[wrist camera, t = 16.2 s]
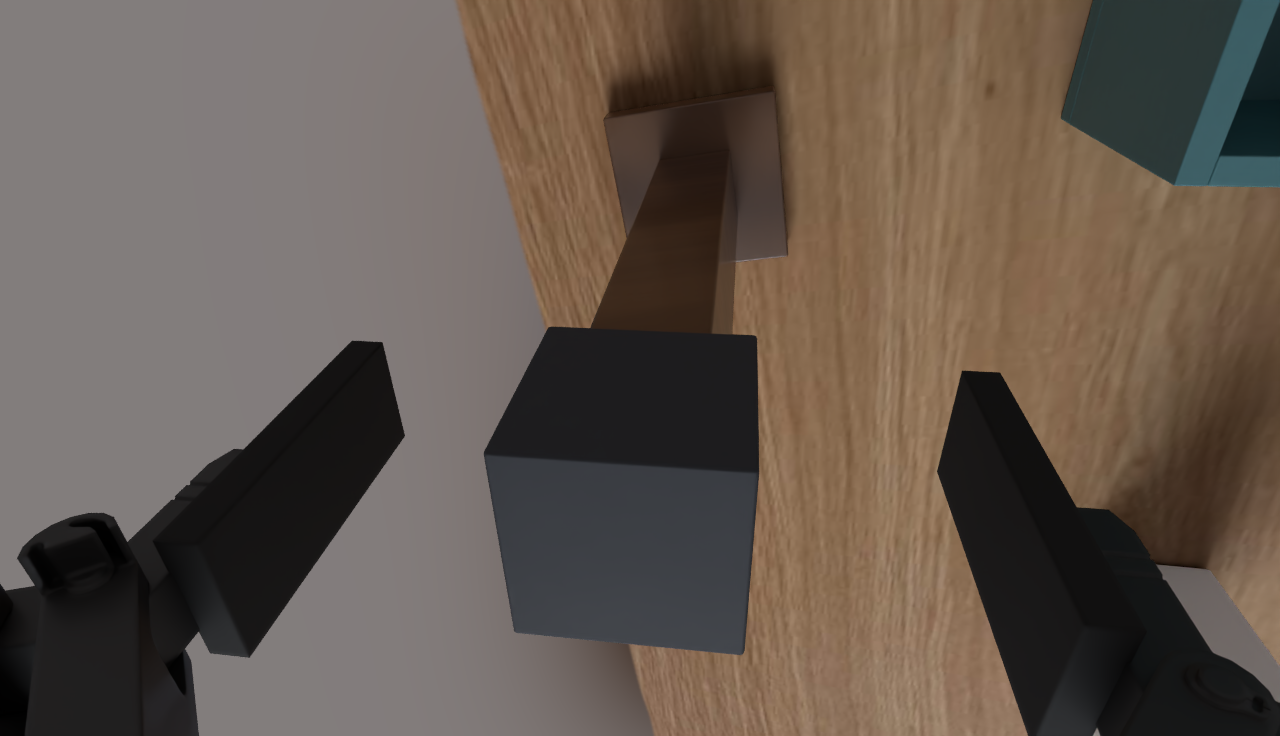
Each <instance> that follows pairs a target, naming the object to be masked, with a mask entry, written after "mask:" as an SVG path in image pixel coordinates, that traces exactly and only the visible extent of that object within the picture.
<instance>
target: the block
mask: <svg viewBox="0 0 1280 736" xmlns="http://www.w3.org/2000/svg"><path fill="white" fill-rule="evenodd" d="M484 457H485V464H486V470H487V476H488V482H489V487H490V492H491V499H492V505H493V511H494V516H495V522H496V528H497V534H498V539H499V545H500V551H501V557H502V563H503V569H504V574H505V580H506V586H507V592H508V597H509V603H510V609H511V615H512V621H513V627H514V631H515V632H516V633H524V634H534V635H544V636H554V637H564V638H575V639H584V640H595V641H605V642H615V643H625V644H635V645H645V646H655V647H665V648H675V649H685V650H695V651H705V652H715V653H726V654H736V655H742V654H743V653H744V649H745V637H746V625H747V613H748V601H749V589H750V577H751V565H752V552H753V540H754V528H755V516H756V504H757V492H758V480H759V430H758V366H757V338H756V336H754V335H733V334H710V333H687V332H663V331H640V330H617V329H594V328H571V327H549V328H548V329H547V331H546V333H545V335H544V337H543V339H542V341H541V343H540V345H539V347H538V349H537V351H536V353H535V355H534V356H533V359H532V360H531V362H530V364H529V366H528V368H527V370H526V372H525V374H524V376H523V378H522V380H521V382H520V384H519V385H518V387H517V389H516V391H515V393H514V395H513V397H512V399H511V401H510V403H509V405H508V407H507V409H506V411H505V413H504V415H503V416H502V418H501V420H500V422H499V424H498V426H497V428H496V430H495V432H494V434H493V436H492V438H491V440H490V441H489V444H488V446H487V448H486V449H485V451H484Z"/></svg>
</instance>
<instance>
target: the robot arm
mask: <svg viewBox="0 0 1280 736" xmlns="http://www.w3.org/2000/svg"><path fill="white" fill-rule="evenodd" d="M404 436H405V434H404V430H403V426H402V422H401V418H400V414H399V409H398V405H397V401H396V397H395V393H394V389H393V384H392V380H391V376H390V372H389V368H388V363H387V360H386V355H385V351H384V347H383V343H382V342H366V341H351V342H350V343H349V344H348V345H347V346H346V347H345V348H344V349H343V350H342V351H341V352H340V353H339V354H338V355H337V356H336V357H335V358H334V359H333V360H332V362H330V363H329V364H328V365H327V367H325V368H324V369H323V370H322V372H321V373H319V375H317V377H316V378H314V379H313V381H311V382H310V384H308V386H306V388H305V389H303V390H302V392H300V394H298V395H297V396H296V397H295V399H293V400H292V401H291V403H289V404H288V406H287V407H285V408H284V410H282V411H281V412H280V413H279V414H278V416H277V417H276V418H274V420H272V422H270V424H269V425H267V426H266V428H265V429H264V430H263V431H262V432H261V433H260V434H259V435H258V436H257V437H256V438H255V439H254V440H253V441H252V442H251V443H250V444H249V445H248V446H247V447H246V448H245V449H244V450H242V449H233V450H231V451H230V452H228V453H227V454H225V455H223V456H221V457H220V458H218V459H217V460H214V461H213V462H211V463H209V464H208V465H207V466H206V467H205V468H204V469H203V470H202V471H201V472H200V473H199V474H198V475H197V476H196V477H195V478H194V479H193V480H191V481H190V485H186V486H185V487H184V488H183V489H182V490H181V491H180V492H179V493H178V494H177V495H176V496H175V500H171V501H170V502H169V503H168V504H167V505H166V506H164V507H163V509H161V510H160V511H159V512H158V513H157V514H156V515H155V516H154V517H153V518H152V519H151V520H150V521H149V522H148V523H147V524H146V525H145V526H144V527H143V528H142V529H141V530H140V531H139V532H137V533H136V534H135V535H134V536H133V537H132V538H131V539H130V540H129V541H128V542H127V541H126V539H125V537H124V535H123V533H122V532H121V530H120V528H119V526H118V524H117V522H116V520H115V519H114V517H112V516H110V515H107V514H105V513H87V514H82V515H78V516H74V517H70V518H68V519H65V520H63V521H60V522H58V523H55V524H53V525H51V526H49V527H48V528H46V529H44V530H43V531H41V532H40V533H38V534H37V535H35V536H34V537H33V538H32V539H31V540H30V541H29V542H28V543H27V544H26V545H24V546H23V548H22V550H21V552H20V554H19V556H18V558H17V559H18V560H19V562H20V563H21V565H22V566H23V568H24V569H25V571H26V572H27V574H28V575H29V577H30V579H31V580H32V581H33V583H34V585H35V586H32V587H26V588H19V589H13V590H7V591H5V590H4V589H3V587H2V586H1V584H0V736H199V732H198V723H197V713H196V704H195V694H194V684H193V674H192V664H191V660H190V658H189V656H188V654H187V652H186V650H185V648H186V646H187V645H188V644H189V643H190V641H191V640H192V639H193V638H194V637H195V635H196V634H197V633H198V632H199V633H200V634H201V636H202V638H203V640H204V642H205V644H206V646H207V648H208V650H209V652H210V653H213V654H222V655H231V656H240V657H248V658H249V657H250V656H251V655H252V653H253V652H254V650H255V649H256V647H257V646H258V645H259V643H260V642H261V640H262V639H263V638H264V636H265V635H266V633H267V632H268V630H269V629H270V628H271V626H272V625H273V623H274V622H275V620H276V619H277V618H278V616H279V615H280V613H281V612H282V610H283V609H284V608H285V606H286V605H287V603H288V602H289V600H290V599H291V598H292V596H293V594H294V593H295V592H296V591H297V589H298V587H299V586H300V585H301V583H302V582H303V581H304V579H305V578H306V576H307V575H308V573H309V572H310V571H311V569H312V568H313V566H314V565H315V563H316V562H317V561H318V559H319V558H320V556H321V555H322V553H323V552H324V551H325V549H326V548H327V546H328V545H329V543H330V542H331V541H332V539H333V538H334V536H335V535H336V533H337V532H338V531H339V529H340V528H341V526H342V525H343V524H344V522H345V521H346V519H347V518H348V516H349V515H350V514H351V512H352V511H353V509H354V508H355V506H356V505H357V503H358V502H359V501H360V499H361V498H362V496H363V495H364V494H365V492H366V490H367V489H368V488H369V486H370V485H371V483H372V482H373V481H374V479H375V478H376V476H377V475H378V474H379V472H380V471H381V469H382V468H383V466H384V465H385V464H386V462H387V461H388V459H389V458H390V457H391V455H392V454H393V452H394V451H395V449H396V448H397V447H398V445H399V444H400V442H401V441H402V439H403V438H404ZM937 472H938V475H939V478H940V481H941V484H942V487H943V490H944V493H945V496H946V499H947V501H948V504H949V507H950V510H951V513H952V516H953V519H954V522H955V525H956V528H957V530H958V533H959V536H960V539H961V542H962V545H963V548H964V551H965V554H966V557H967V559H968V562H969V565H970V568H971V571H972V574H973V577H974V580H975V583H976V586H977V588H978V591H979V594H980V597H981V600H982V603H983V606H984V609H985V612H986V615H987V617H988V620H989V623H990V626H991V629H992V632H993V635H994V638H995V641H996V644H997V646H998V649H999V652H1000V655H1001V658H1002V661H1003V664H1004V667H1005V670H1006V673H1007V675H1008V678H1009V681H1010V684H1011V687H1012V690H1013V693H1014V696H1015V699H1016V702H1017V704H1018V707H1019V710H1020V713H1021V716H1022V719H1023V722H1024V725H1025V728H1026V731H1027V733H1028V736H1093V735H1094V733H1095V731H1096V729H1098V731H1099V734H1100V736H1280V703H1279V702H1277V701H1275V700H1274V698H1273V696H1272V694H1271V692H1270V691H1269V690H1268V689H1267V688H1266V687H1265V686H1264V685H1263V684H1262V683H1261V682H1260V681H1259V680H1258V679H1257V678H1256V677H1255V676H1254V675H1253V674H1252V673H1250V672H1248V671H1247V670H1245V669H1244V668H1242V667H1241V666H1239V665H1238V664H1236V663H1235V662H1233V661H1232V660H1229V659H1227V658H1224V657H1222V656H1219V655H1217V654H1215V653H1213V652H1212V651H1211V649H1210V648H1209V646H1208V644H1207V643H1206V641H1205V640H1204V638H1203V637H1202V635H1201V634H1200V632H1199V630H1198V629H1197V627H1196V626H1195V624H1194V623H1193V621H1192V620H1191V618H1190V616H1189V615H1188V613H1187V612H1186V610H1185V609H1184V607H1183V606H1182V604H1181V602H1180V601H1179V599H1178V598H1177V596H1176V595H1175V593H1174V592H1173V590H1172V588H1171V587H1170V585H1169V584H1168V582H1167V581H1166V580H1163V577H1162V576H1163V575H1162V573H1161V571H1160V570H1159V568H1158V567H1157V565H1156V564H1155V562H1154V561H1153V560H1150V554H1149V553H1148V551H1147V550H1146V548H1145V547H1144V545H1143V543H1142V542H1141V540H1140V539H1139V537H1138V536H1137V534H1136V533H1135V531H1134V530H1132V529H1131V528H1130V527H1129V526H1128V525H1126V524H1125V523H1124V522H1123V521H1122V520H1120V519H1119V518H1118V517H1117V516H1116V515H1114V514H1113V513H1112V512H1111V511H1110V510H1105V509H1091V508H1077V507H1076V505H1075V504H1074V502H1073V500H1072V498H1071V497H1070V495H1069V493H1068V491H1067V490H1066V488H1065V486H1064V484H1063V483H1062V481H1061V479H1060V477H1059V476H1058V474H1057V472H1056V470H1055V468H1054V467H1053V465H1052V463H1051V461H1050V460H1049V458H1048V456H1047V454H1046V453H1045V451H1044V449H1043V447H1042V446H1041V444H1040V442H1039V440H1038V439H1037V437H1036V435H1035V433H1034V432H1033V430H1032V428H1031V426H1030V424H1029V423H1028V421H1027V419H1026V417H1025V416H1024V414H1023V412H1022V410H1021V409H1020V407H1019V405H1018V403H1017V402H1016V400H1015V398H1014V396H1013V395H1012V393H1011V391H1010V389H1009V388H1008V386H1007V384H1006V382H1005V381H1004V379H1003V377H1002V375H1001V373H998V372H977V371H962V374H961V378H960V382H959V386H958V390H957V394H956V398H955V402H954V406H953V410H952V414H951V418H950V422H949V426H948V430H947V434H946V438H945V442H944V446H943V450H942V454H941V458H940V462H939V466H938V470H937Z"/></svg>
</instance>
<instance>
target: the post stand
mask: <svg viewBox="0 0 1280 736" xmlns="http://www.w3.org/2000/svg"><path fill="white" fill-rule="evenodd" d="M603 121H604V126H605V131H606V136H607V141H608V146H609V151H610V156H611V161H612V166H613V171H614V176H615V181H616V186H617V191H618V196H619V201H620V207H621V212H622V217H623V222H624V227H625V232H626V237H627V240H626V242H625V245H624V247H623V250H622V252H621V255H620V257H619V259H618V262H617V264H616V267H615V269H614V272H613V274H612V276H611V279H610V281H609V284H608V286H607V289H606V291H605V294H604V296H603V298H602V301H601V303H600V306H599V308H598V311H597V313H596V315H595V318H594V320H593V323H592V325H591V328H594V329H617V330H640V331H663V332H687V333H710V334H732V328H733V306H734V285H735V264H736V262H742V261H751V260H760V259H768V258H777V257H786V256H788V245H787V233H786V220H785V208H784V195H783V183H782V170H781V158H780V145H779V133H778V120H777V108H776V95H775V88H774V86H768V87H762V88H756V89H750V90H744V91H738V92H732V93H726V94H720V95H714V96H707V97H701V98H695V99H689V100H683V101H677V102H671V103H665V104H659V105H653V106H647V107H641V108H634V109H628V110H622V111H616V112H610V113H608V114H607V115H606V117H605V118H604V120H603Z"/></svg>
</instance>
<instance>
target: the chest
mask: <svg viewBox="0 0 1280 736" xmlns="http://www.w3.org/2000/svg"><path fill="white" fill-rule="evenodd" d="M1061 119H1062V120H1064V121H1066V122H1067V123H1069V124H1070V125H1072V126H1074V127H1075V128H1077V129H1079V130H1081V131H1082V132H1084V133H1086V134H1087V135H1089V136H1091V137H1092V138H1094V139H1096V140H1098V141H1099V142H1101V143H1103V144H1104V145H1106V146H1108V147H1109V148H1111V149H1113V150H1115V151H1116V152H1118V153H1120V154H1121V155H1123V156H1125V157H1127V158H1128V159H1130V160H1132V161H1133V162H1135V163H1137V164H1138V165H1140V166H1142V167H1144V168H1145V169H1147V170H1149V171H1150V172H1152V173H1154V174H1155V175H1157V176H1159V177H1161V178H1162V179H1164V180H1166V181H1167V182H1169V183H1171V184H1173V185H1174V186H1229V187H1280V0H1093V3H1092V7H1091V10H1090V14H1089V18H1088V21H1087V25H1086V29H1085V32H1084V36H1083V39H1082V43H1081V47H1080V50H1079V54H1078V58H1077V61H1076V65H1075V69H1074V72H1073V76H1072V80H1071V83H1070V87H1069V91H1068V94H1067V98H1066V102H1065V105H1064V109H1063V112H1062V116H1061Z"/></svg>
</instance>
